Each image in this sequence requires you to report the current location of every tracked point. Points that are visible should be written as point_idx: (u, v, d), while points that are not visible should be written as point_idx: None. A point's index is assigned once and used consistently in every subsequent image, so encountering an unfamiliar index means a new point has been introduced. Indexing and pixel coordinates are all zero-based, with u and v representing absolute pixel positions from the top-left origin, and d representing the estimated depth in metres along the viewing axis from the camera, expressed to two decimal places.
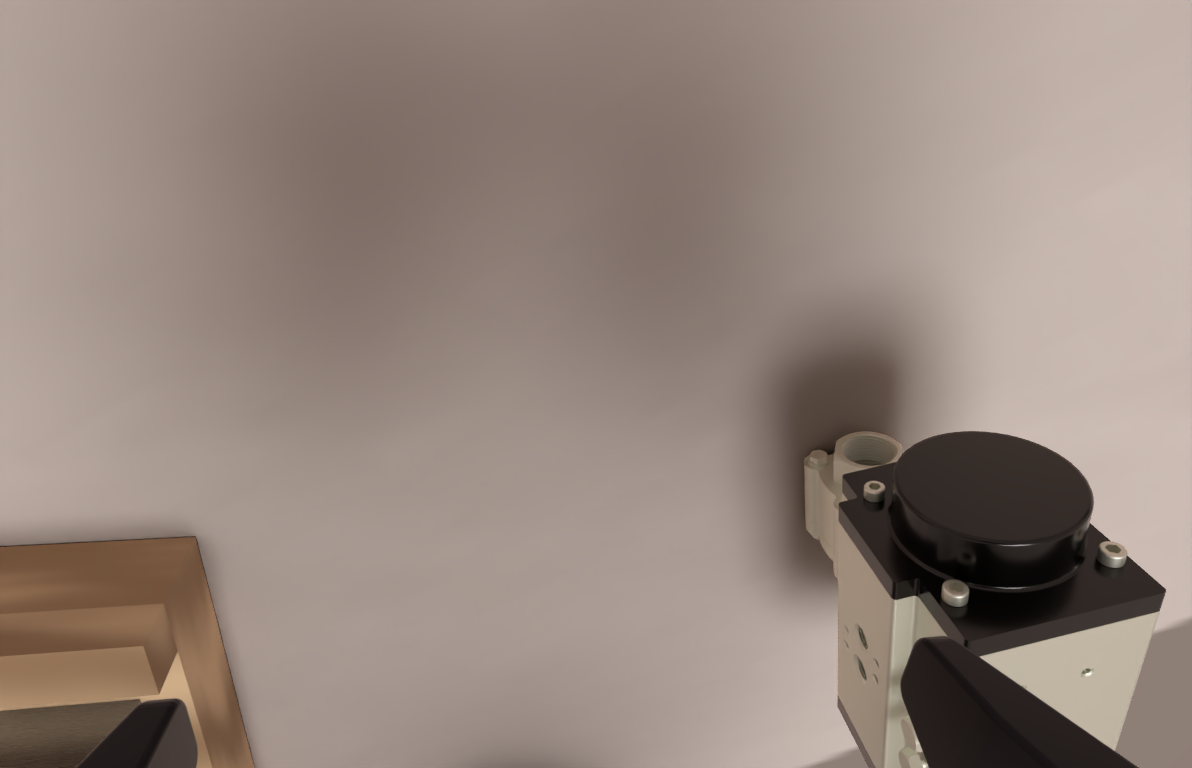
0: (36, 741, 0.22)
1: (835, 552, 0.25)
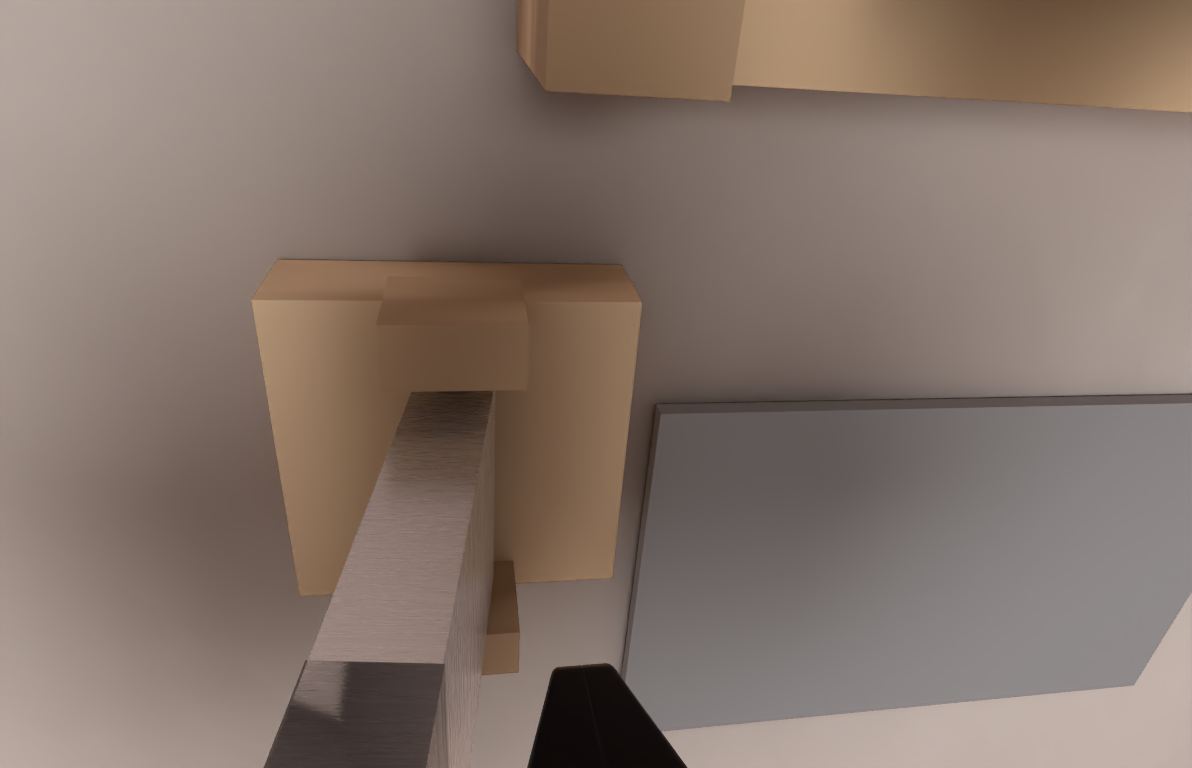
0: None
1: None
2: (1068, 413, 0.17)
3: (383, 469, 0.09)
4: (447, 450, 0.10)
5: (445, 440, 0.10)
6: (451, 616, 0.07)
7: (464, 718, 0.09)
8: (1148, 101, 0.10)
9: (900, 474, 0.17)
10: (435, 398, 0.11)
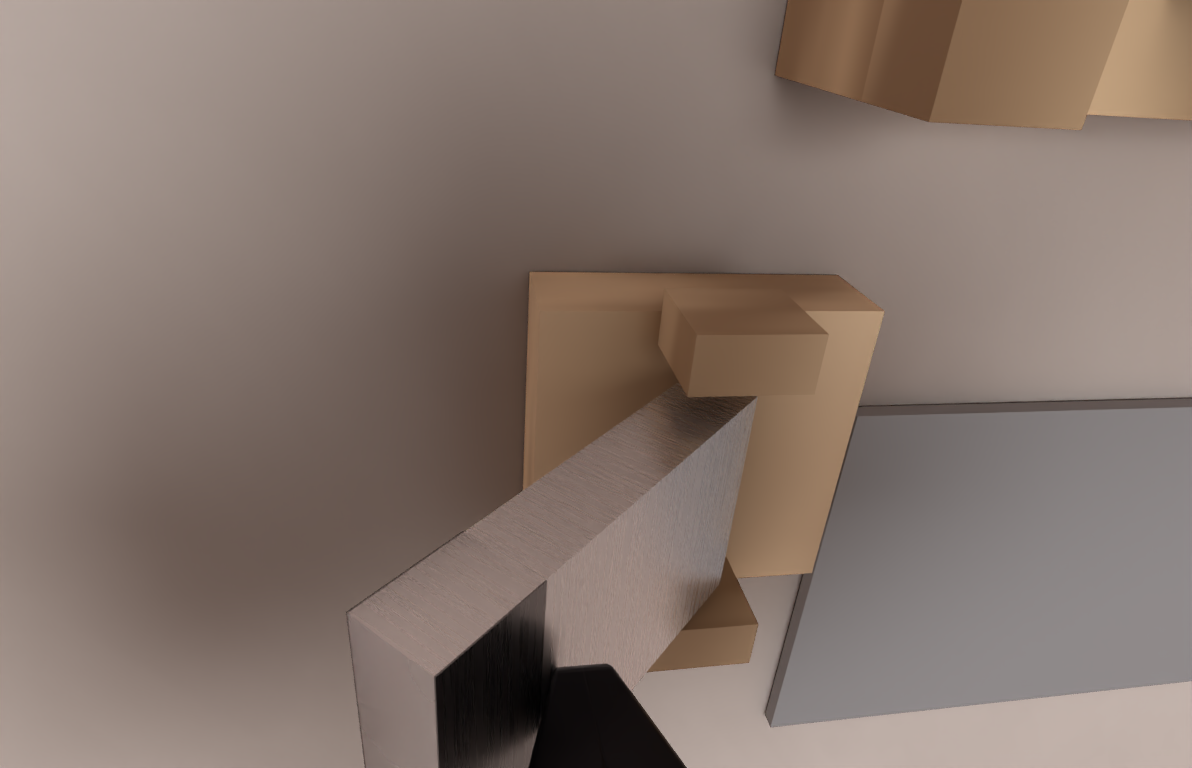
0: None
1: None
2: None
3: (613, 431, 0.11)
4: (671, 435, 0.11)
5: (676, 427, 0.11)
6: (578, 552, 0.08)
7: None
8: None
9: (1064, 473, 0.17)
10: None
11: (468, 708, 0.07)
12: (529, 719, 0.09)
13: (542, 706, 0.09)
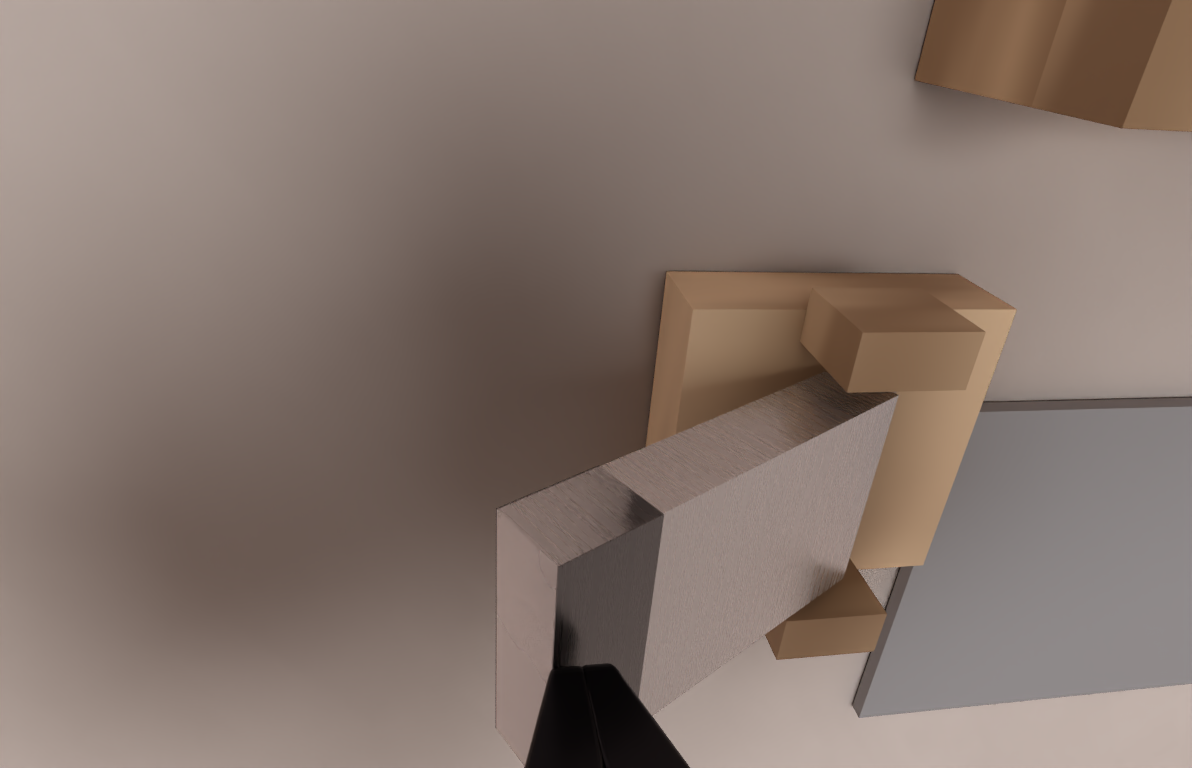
0: None
1: None
2: None
3: (748, 407, 0.12)
4: (803, 416, 0.11)
5: (809, 411, 0.11)
6: (696, 498, 0.09)
7: (707, 615, 0.11)
8: None
9: (1162, 468, 0.18)
10: (834, 384, 0.12)
11: (584, 607, 0.09)
12: (636, 640, 0.10)
13: (650, 633, 0.10)
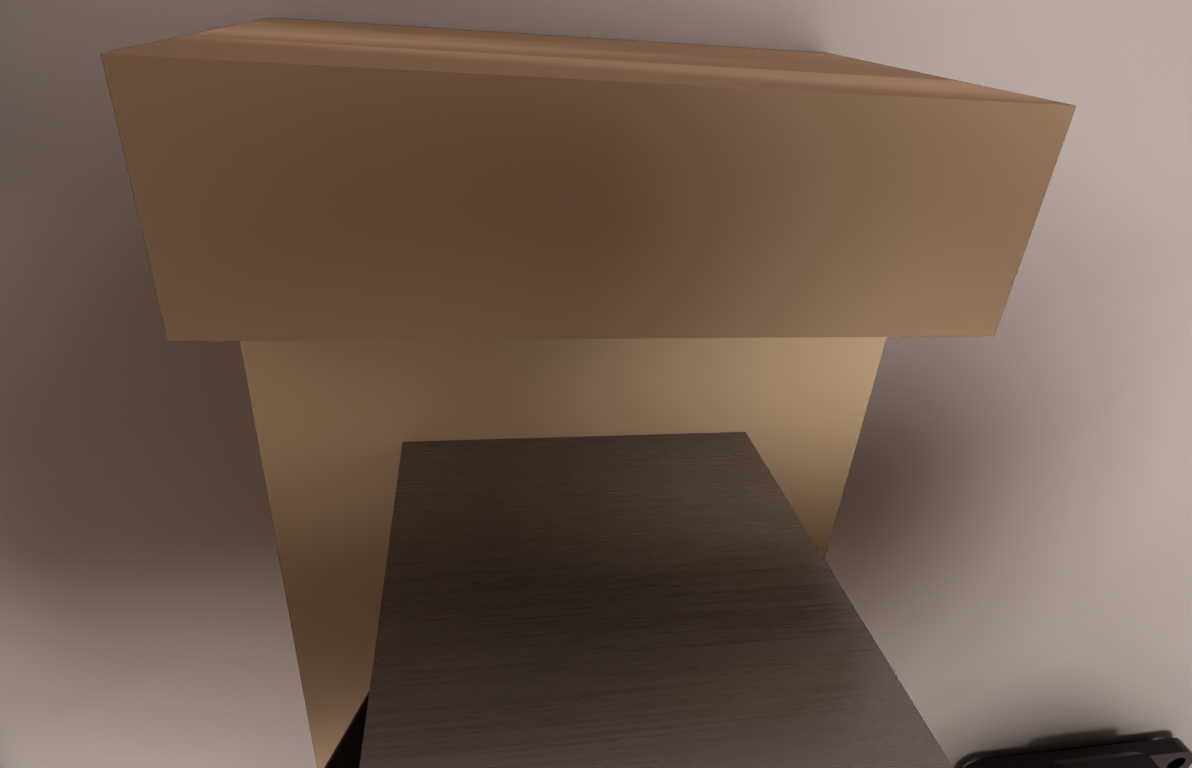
0: (556, 503, 0.07)
1: None
2: None
3: None
4: None
5: None
6: None
7: None
8: (319, 731, 0.10)
9: None
10: None
11: None
12: None
13: None
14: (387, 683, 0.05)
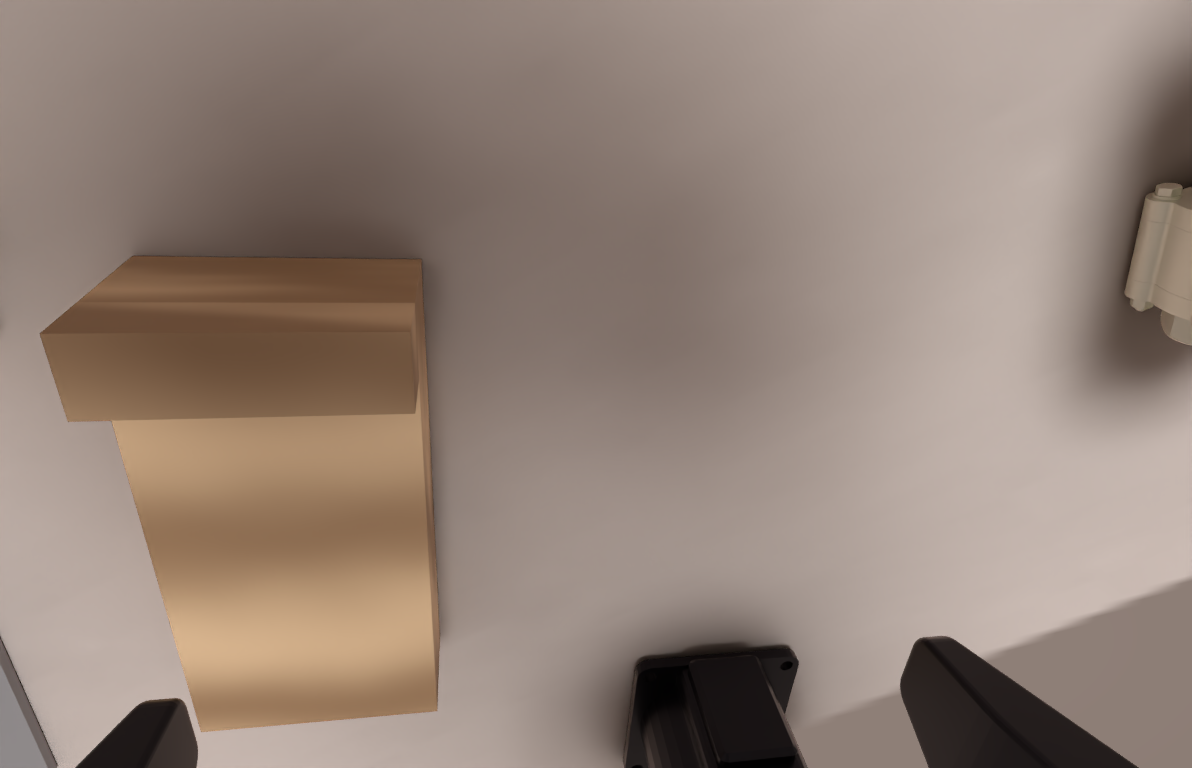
0: None
1: None
2: None
3: None
4: None
5: None
6: None
7: None
8: (168, 603, 0.20)
9: None
10: None
11: None
12: None
13: None
14: None
